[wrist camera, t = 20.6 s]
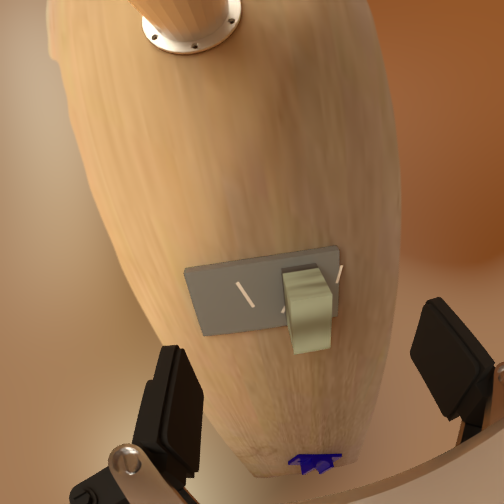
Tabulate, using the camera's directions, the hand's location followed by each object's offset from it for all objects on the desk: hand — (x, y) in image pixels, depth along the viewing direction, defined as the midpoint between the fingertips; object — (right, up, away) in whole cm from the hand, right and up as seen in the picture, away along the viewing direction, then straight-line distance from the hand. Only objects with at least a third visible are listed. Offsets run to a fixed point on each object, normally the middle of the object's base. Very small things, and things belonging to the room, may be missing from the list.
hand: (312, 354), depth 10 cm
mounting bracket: (+20, -67, +65) cm, 96 cm away
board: (0, -2, +32) cm, 32 cm away
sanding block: (+5, -2, +31) cm, 31 cm away
